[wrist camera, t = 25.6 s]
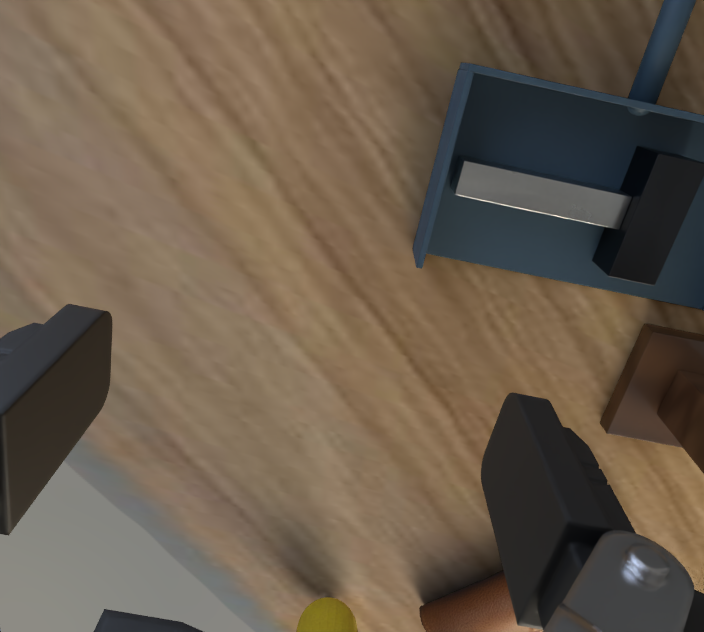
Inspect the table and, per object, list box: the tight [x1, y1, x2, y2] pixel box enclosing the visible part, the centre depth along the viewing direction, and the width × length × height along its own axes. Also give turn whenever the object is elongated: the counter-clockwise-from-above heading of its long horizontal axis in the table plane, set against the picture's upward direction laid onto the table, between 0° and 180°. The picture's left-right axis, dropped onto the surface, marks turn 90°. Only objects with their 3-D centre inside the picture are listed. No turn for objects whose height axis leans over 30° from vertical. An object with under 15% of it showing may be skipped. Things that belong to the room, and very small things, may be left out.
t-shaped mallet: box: [451, 146, 704, 286], centre depth 38 cm, size 14×8×3 cm, turn 78°
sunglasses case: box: [420, 570, 542, 632], centre depth 53 cm, size 18×7×7 cm
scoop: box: [413, 0, 704, 311], centre depth 36 cm, size 22×22×4 cm
